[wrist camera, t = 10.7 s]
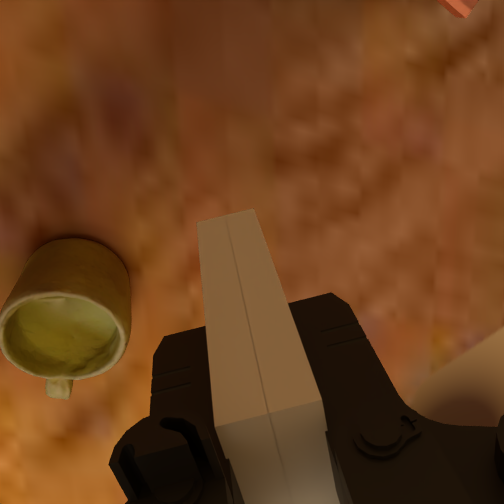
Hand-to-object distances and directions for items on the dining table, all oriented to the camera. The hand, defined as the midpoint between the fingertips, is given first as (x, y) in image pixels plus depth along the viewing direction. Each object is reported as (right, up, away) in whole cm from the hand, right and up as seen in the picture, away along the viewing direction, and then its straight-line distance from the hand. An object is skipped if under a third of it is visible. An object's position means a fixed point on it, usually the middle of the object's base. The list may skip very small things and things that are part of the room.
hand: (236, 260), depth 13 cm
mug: (-15, -4, +30) cm, 34 cm away
